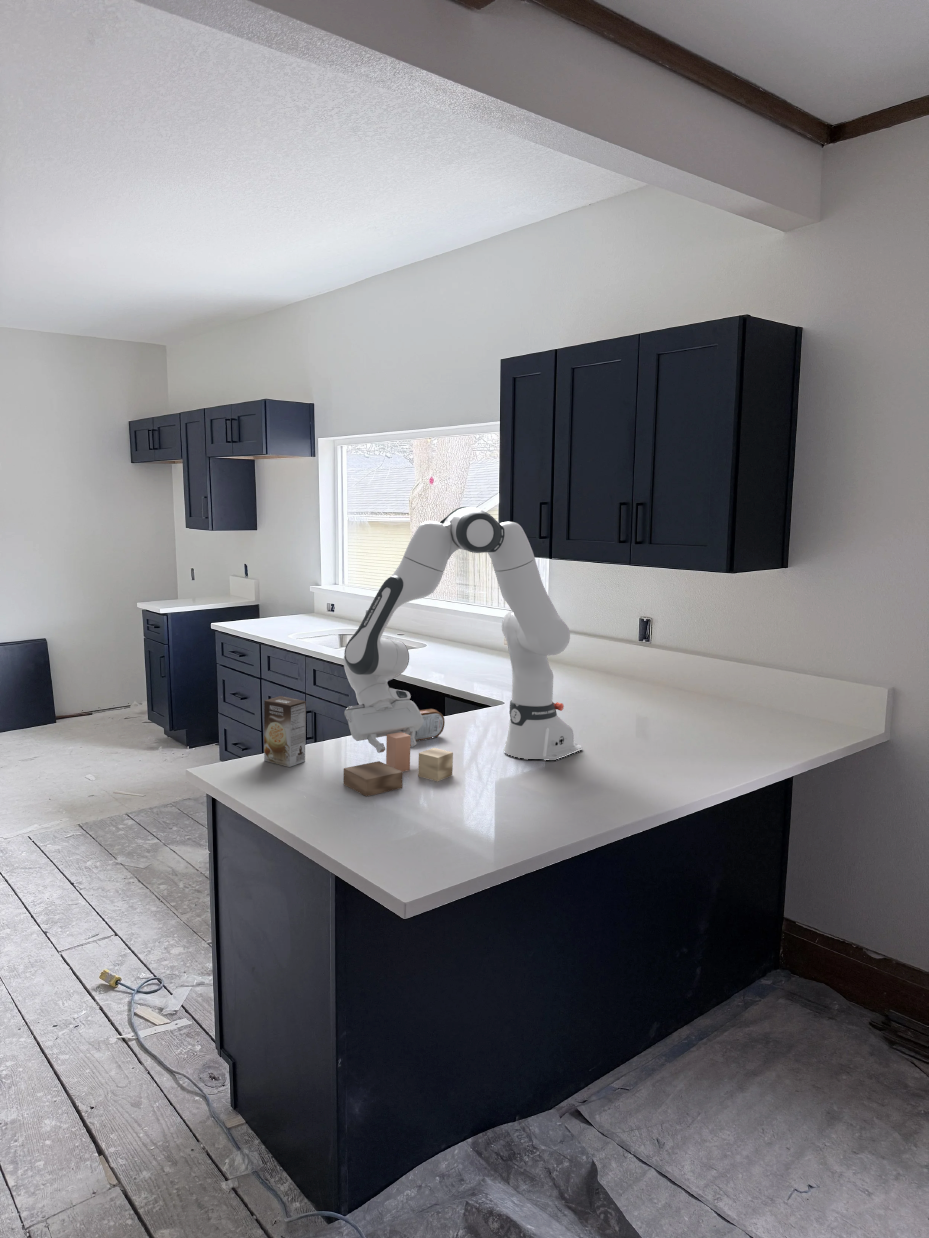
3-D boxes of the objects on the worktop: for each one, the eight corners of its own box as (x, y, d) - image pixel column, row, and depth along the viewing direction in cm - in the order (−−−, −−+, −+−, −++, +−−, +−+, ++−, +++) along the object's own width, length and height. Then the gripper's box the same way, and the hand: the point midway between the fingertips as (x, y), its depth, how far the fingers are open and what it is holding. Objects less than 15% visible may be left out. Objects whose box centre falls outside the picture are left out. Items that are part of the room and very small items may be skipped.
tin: (440, 734, 247) (440, 706, 246) (446, 737, 244) (446, 708, 243) (395, 742, 238) (395, 712, 237) (401, 744, 236) (401, 715, 235)
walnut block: (378, 776, 208) (379, 761, 207) (402, 788, 200) (402, 771, 199) (343, 784, 201) (343, 768, 201) (366, 796, 194) (366, 779, 193)
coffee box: (262, 761, 218) (262, 699, 215) (280, 755, 223) (279, 695, 221) (289, 767, 213) (289, 705, 211) (306, 761, 218) (307, 700, 216)
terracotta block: (400, 766, 217) (401, 731, 215) (409, 770, 213) (410, 735, 212) (386, 769, 214) (386, 734, 212) (395, 773, 211) (395, 738, 209)
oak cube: (433, 770, 214) (433, 747, 213) (452, 775, 210) (452, 752, 210) (418, 776, 209) (418, 752, 208) (437, 781, 206) (438, 757, 205)
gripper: (346, 700, 211) (367, 748, 204) (414, 691, 223) (435, 735, 217) (337, 714, 215) (357, 761, 208) (404, 704, 227) (424, 748, 221)
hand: (397, 748), depth 213 cm, fingers open, 8 cm apart
